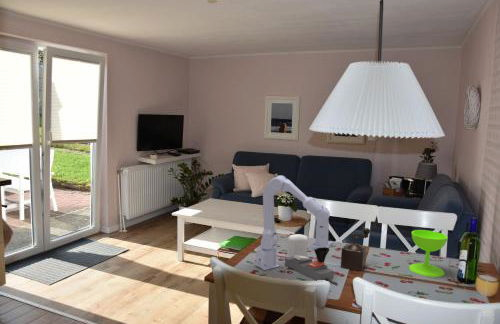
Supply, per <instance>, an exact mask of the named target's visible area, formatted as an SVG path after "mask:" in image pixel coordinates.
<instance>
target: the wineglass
mask: <svg viewBox="0 0 500 324" xmlns="http://www.w3.org/2000/svg"><path fill="white" fill-rule="evenodd" d="M411 238H412V240H413V242H414V245H415V246H417V247H418V248H419V249H421V250H423V251H425V254H424V263H422V262H419V263H412V264H410V265H409V266H408V269H409V271H411V272H412V273H415V274H417V275H420V276H425V277H430V278H439V277H443V276H445V271H444V270H443V269H442V268H440V267H438V266H436V265H433V264H430V256H431V252H436V251H438V250H441V249H443V247H445V246H446V243H447V242H448V236H447V235H446V234H444V233H442V232H438V231H433V230H428V229H427V230H425V229H424V230H423V229H417V230H416V229H415V230H412V231H411Z"/></svg>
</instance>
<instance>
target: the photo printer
mask: <svg viewBox="0 0 500 324" xmlns="http://www.w3.org/2000/svg"><path fill="white" fill-rule="evenodd" d="M287 239H288V240H287V251H286V252H287V253H286V254H287V255H286V258H287V257H292V256H294V255H299V256H306V257H308V243H309V242H308V239H309V238H308V236H307V235H305V234H300V233H298V234H297V233H296V234H295V233H294V234H291V235H288V238H287Z"/></svg>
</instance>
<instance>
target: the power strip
mask: <svg viewBox="0 0 500 324" xmlns="http://www.w3.org/2000/svg"><path fill="white" fill-rule="evenodd" d="M297 256H299V255H297ZM305 257H306V256H305ZM307 258H309V260H304V261H303V260H297V259H295V258H294V256H292V257H287V256H286V257H285V258H284V265H285V266H287V267H288V268H290V269H293V270H295V271H296V272H299V273H301V274H302V275H304V276H307V277H309V278H311V279H313V280H315V281H317V280H325V281H327V280H328V281H327V282H329V281H330V283H332V284H333V283H334V285H336V286H338V285H339V282H337V281H334V280H333V279H334V272H335V271H334V270H333V269H330V268H328V265H327V264H324V265H323V266H321V267H318V268H312V267H310V266H308V264H310V263H312V262H313V259H312V258H310V257H308V256H307ZM331 278H332V279H331Z"/></svg>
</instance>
